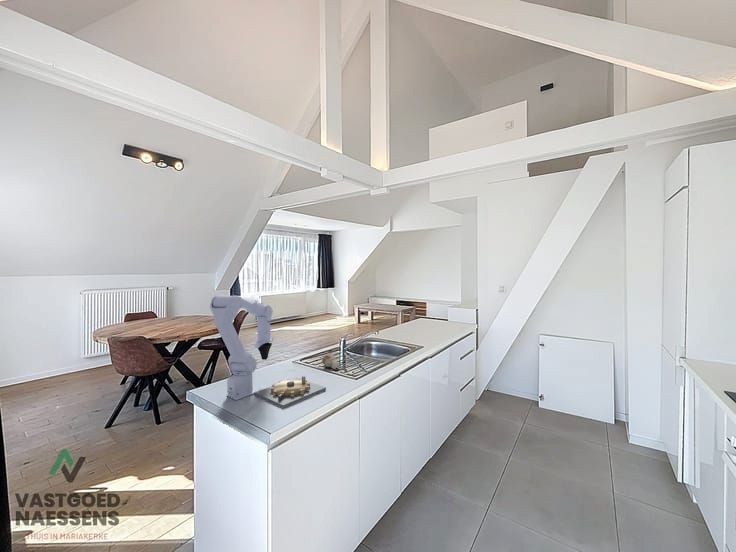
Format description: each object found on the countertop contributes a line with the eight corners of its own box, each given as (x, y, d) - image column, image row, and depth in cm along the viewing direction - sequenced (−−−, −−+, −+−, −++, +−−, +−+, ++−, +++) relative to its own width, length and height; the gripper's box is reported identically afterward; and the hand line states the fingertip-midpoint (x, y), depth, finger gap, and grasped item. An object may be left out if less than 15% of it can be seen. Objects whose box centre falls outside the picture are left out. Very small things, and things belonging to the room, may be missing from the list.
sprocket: (312, 393, 126) (312, 382, 126) (271, 399, 121) (271, 387, 121) (307, 380, 142) (306, 370, 142) (270, 385, 136) (269, 374, 136)
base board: (283, 408, 117) (283, 400, 116) (254, 395, 129) (254, 388, 129) (325, 390, 134) (325, 383, 134) (296, 380, 146) (296, 373, 146)
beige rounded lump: (332, 372, 158) (324, 354, 160) (326, 375, 166) (318, 358, 168) (344, 365, 162) (336, 348, 164) (338, 369, 170) (330, 352, 172)
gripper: (264, 334, 137) (265, 364, 137) (278, 327, 151) (279, 355, 152) (249, 333, 138) (250, 363, 139) (265, 327, 153) (266, 354, 153)
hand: (264, 359), depth 145 cm, fingers closed
